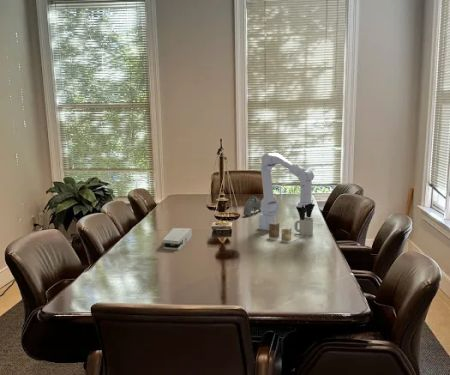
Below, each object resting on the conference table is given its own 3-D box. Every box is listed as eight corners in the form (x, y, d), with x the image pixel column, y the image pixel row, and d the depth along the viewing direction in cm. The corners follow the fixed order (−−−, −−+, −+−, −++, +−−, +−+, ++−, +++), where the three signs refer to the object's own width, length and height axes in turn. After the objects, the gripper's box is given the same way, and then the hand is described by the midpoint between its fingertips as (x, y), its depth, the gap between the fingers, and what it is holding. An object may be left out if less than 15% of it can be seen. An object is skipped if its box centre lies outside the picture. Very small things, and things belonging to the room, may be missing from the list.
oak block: (281, 240, 222) (281, 228, 221) (284, 238, 225) (284, 227, 225) (288, 240, 220) (288, 229, 219) (291, 239, 224) (291, 227, 223)
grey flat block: (179, 251, 208) (179, 241, 207) (158, 250, 210) (157, 240, 209) (192, 237, 233) (192, 228, 233) (173, 236, 235) (172, 228, 234)
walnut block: (268, 237, 228) (268, 223, 227) (272, 235, 231) (272, 222, 230) (275, 238, 226) (275, 224, 225) (279, 236, 229) (279, 223, 228)
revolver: (262, 223, 298) (266, 203, 301) (248, 214, 280) (252, 192, 284) (255, 222, 300) (260, 202, 304) (241, 213, 282) (246, 192, 286)
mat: (259, 238, 228) (259, 237, 228) (274, 232, 241) (274, 231, 241) (289, 243, 217) (289, 242, 217) (303, 236, 230) (303, 235, 230)
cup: (312, 236, 230) (312, 220, 229) (293, 235, 232) (294, 219, 231) (312, 233, 237) (313, 217, 236) (294, 232, 239) (294, 216, 238)
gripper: (306, 195, 218) (306, 221, 220) (318, 192, 229) (318, 216, 231) (294, 194, 222) (293, 220, 224) (306, 191, 233) (306, 215, 235)
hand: (305, 218), depth 228 cm, fingers open, 7 cm apart
